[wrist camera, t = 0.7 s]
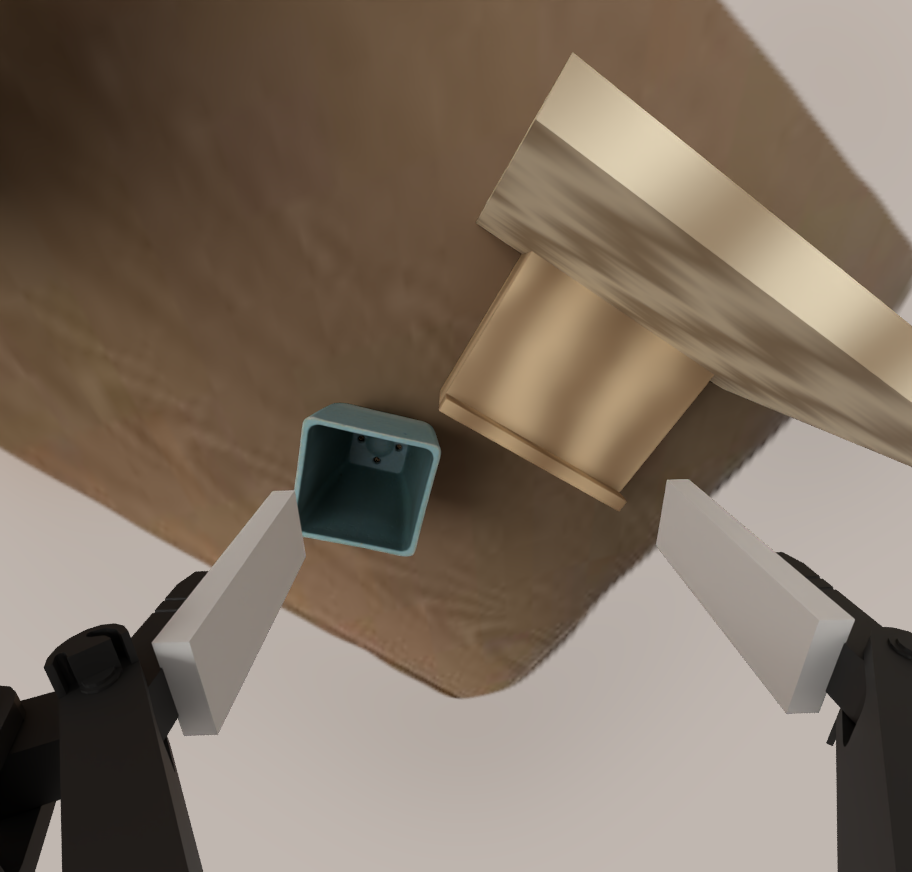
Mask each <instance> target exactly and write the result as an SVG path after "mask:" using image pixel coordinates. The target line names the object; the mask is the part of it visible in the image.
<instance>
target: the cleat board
mask: <svg viewBox="0 0 912 872" xmlns="http://www.w3.org/2000/svg"><path fill="white" fill-rule="evenodd" d="M476 223H477V224H478V225H480V226H481V227H483V228H484V229H486V230H487V231H488V232H490V233H491V234H493V235H494V236H496V237H497V238H499V239H500V240H502V241H503V242H505V243H506V244H508V245H509V246H511V247H512V248H514V249H515V250H517V251H518V252H520V253H521V256H520V258H519V260H518V261H517V263H516V265H515V266H514V268H513V270H512V271H511V273H510V275H509V276H508V278H507V280H506V281H505V283H504V285H503V286H502V288H501V290H500V291H499V293H498V295H497V296H496V298H495V300H494V301H493V303H492V305H491V306H490V308H489V310H488V311H487V313H486V315H485V316H484V318H483V320H482V321H481V323H480V325H479V326H478V328H477V330H476V331H475V333H474V335H473V336H472V338H471V340H470V341H469V343H468V345H467V346H466V348H465V350H464V351H463V353H462V355H461V356H460V358H459V360H458V361H457V363H456V365H455V366H454V368H453V370H452V371H451V373H450V375H449V376H448V378H447V380H446V381H445V383H444V385H443V386H442V388H441V390H440V399H439V411H440V412H442V413H444V414H446V415H448V416H449V417H451V418H453V419H455V420H457V421H458V422H460V423H462V424H464V425H465V426H467V427H469V428H471V429H473V430H474V431H476V432H478V433H480V434H482V435H483V436H485V437H487V438H489V439H490V440H492V441H494V442H496V443H498V444H499V445H501V446H503V447H505V448H506V449H508V450H510V451H512V452H514V453H515V454H517V455H519V456H521V457H523V458H524V459H526V460H528V461H530V462H531V463H533V464H535V465H537V466H539V467H540V468H542V469H544V470H546V471H548V472H549V473H551V474H553V475H555V476H556V477H558V478H560V479H562V480H564V481H565V482H567V483H569V484H571V485H573V486H574V487H576V488H578V489H580V490H581V491H583V492H585V493H587V494H589V495H590V496H592V497H594V498H596V499H597V500H599V501H601V502H603V503H605V504H606V505H608V506H610V507H612V508H614V509H615V510H617V511H620V509H621V508H622V507H623V506H624V505H625V503H626V502H627V501H626V500H625V498H624V497H623V496H622V495H621V493H620V491H621V490H622V489H623V487H624V486H625V485H626V484H627V482H628V481H629V480H630V479H631V478H632V476H633V475H634V474H635V473H636V471H637V470H638V469H639V468H640V466H641V465H642V464H643V463H644V461H645V460H646V459H647V458H648V457H649V455H650V454H651V453H652V452H653V450H654V449H655V448H656V447H657V445H658V444H659V443H660V442H661V440H662V439H663V438H664V437H665V436H666V434H667V433H668V432H669V431H670V429H671V428H672V427H673V426H674V424H675V423H676V422H677V421H678V419H679V418H680V417H681V416H682V414H683V413H684V412H685V411H686V410H687V408H688V407H689V406H690V405H691V403H692V402H693V401H694V400H695V398H696V397H697V396H698V395H699V393H700V392H701V391H702V390H703V389H704V387H705V386H706V385H707V384H708V382H709V381H711V382H713V383H714V384H716V385H717V386H719V387H720V388H722V389H724V390H726V391H729V392H731V393H734V394H736V395H739V396H741V397H743V398H746V399H748V400H751V401H753V402H756V403H758V404H760V405H763V406H765V407H768V408H770V409H773V410H775V411H777V412H780V413H782V414H785V415H787V416H790V417H792V418H795V419H797V420H800V421H802V422H804V423H807V424H809V425H811V426H814V427H816V428H819V429H821V430H824V431H826V432H828V433H831V434H833V435H836V436H838V437H841V438H843V439H845V440H848V441H850V442H853V443H855V444H857V445H860V446H862V447H865V448H867V449H870V450H872V451H875V452H877V453H879V454H882V455H884V456H887V457H889V458H891V459H894V460H897V461H899V462H901V463H904V464H906V465H909V466H911V467H912V326H911V325H910V324H909V323H907V322H906V321H905V320H904V319H902V318H901V317H900V316H899V315H897V314H896V313H895V312H894V311H892V310H891V309H890V308H889V307H888V306H886V305H885V304H884V303H883V302H881V301H880V300H879V299H878V298H876V297H875V296H874V295H873V294H871V293H870V292H869V291H868V290H866V289H865V288H864V287H863V286H862V285H860V284H859V283H858V282H857V281H855V280H854V279H853V278H852V277H850V276H849V275H848V274H847V273H845V272H844V271H843V270H842V269H840V268H839V267H838V266H837V265H836V264H834V263H833V262H832V261H831V260H829V259H828V258H827V257H826V256H824V255H823V254H822V253H821V252H819V251H818V250H817V249H816V248H814V247H813V246H812V245H811V244H810V243H808V242H807V241H806V240H805V239H803V238H802V237H801V236H800V235H798V234H797V233H796V232H795V231H793V230H792V229H791V228H790V227H788V226H787V225H786V224H785V223H784V222H782V221H781V220H780V219H779V218H777V217H776V216H775V215H774V214H772V213H771V212H770V211H769V210H767V209H766V208H765V207H764V206H762V205H761V204H760V203H759V202H757V201H756V200H755V199H754V198H753V197H751V196H750V195H749V194H748V193H746V192H745V191H744V190H743V189H741V188H740V187H739V186H738V185H736V184H735V183H734V182H733V181H731V180H730V179H729V178H728V177H727V176H725V175H724V174H723V173H722V172H720V171H719V170H718V169H717V168H715V167H714V166H713V165H712V164H710V163H709V162H708V161H707V160H705V159H704V158H703V157H702V156H701V155H699V154H698V153H697V152H696V151H694V150H693V149H692V148H691V147H689V146H688V145H687V144H686V143H684V142H683V141H682V140H681V139H679V138H678V137H677V136H676V135H675V134H673V133H672V132H671V131H670V130H668V129H667V128H666V127H665V126H663V125H662V124H661V123H660V122H658V121H657V120H656V119H655V118H653V117H652V116H651V115H650V114H649V113H647V112H646V111H645V110H644V109H642V108H641V107H640V106H639V105H637V104H636V103H635V102H634V101H632V100H631V99H630V98H629V97H627V96H626V95H625V94H624V93H623V92H621V91H620V90H619V89H618V88H616V87H615V86H614V85H613V84H611V83H610V82H609V81H608V80H606V79H605V78H604V77H603V76H601V75H600V74H599V73H598V72H597V71H595V70H594V69H593V68H592V67H590V66H589V65H588V64H587V63H585V62H584V61H583V60H582V59H580V58H579V57H578V56H577V55H575V54H574V53H573V52H572V54H571V56H570V58H569V59H568V61H567V63H566V65H565V66H564V68H563V70H562V72H561V74H560V75H559V77H558V79H557V81H556V82H555V84H554V86H553V88H552V89H551V91H550V93H549V95H548V96H547V98H546V100H545V102H544V103H543V105H542V107H541V109H540V110H539V112H538V114H537V116H536V117H535V119H534V121H533V123H532V124H531V126H530V128H529V130H528V131H527V133H526V135H525V137H524V138H523V140H522V142H521V144H520V145H519V147H518V149H517V151H516V152H515V154H514V156H513V158H512V159H511V161H510V163H509V165H508V166H507V168H506V170H505V172H504V173H503V175H502V177H501V179H500V180H499V182H498V184H497V186H496V187H495V189H494V191H493V193H492V194H491V196H490V198H489V200H488V201H487V203H486V205H485V207H484V209H483V210H482V212H481V214H480V216H479V218H478V220H477V221H476Z"/></svg>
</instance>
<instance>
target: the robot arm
mask: <svg viewBox="0 0 912 872" xmlns="http://www.w3.org/2000/svg"><path fill="white" fill-rule="evenodd" d="M656 546H657V548H658V549H659V550H660V552H661V553H662V554H663V555H664V557H665V558H666V559H667V560H668V562H669V563H670V564H671V566H672V567H673V568H674V569H675V571H676V572H677V573H678V575H679V576H680V577H681V579H682V580H683V581H684V582H685V584H686V585H687V586H688V588H689V589H690V590H691V591H692V593H693V594H694V595H695V597H696V598H697V599H698V600H699V602H700V603H701V604H702V606H703V607H704V608H705V609H706V611H707V612H708V613H709V615H710V616H711V617H712V618H713V620H714V621H715V622H716V624H717V625H718V626H719V628H720V629H721V630H722V631H723V632H724V634H725V635H726V636H727V638H728V639H729V640H730V642H731V643H732V644H733V645H734V647H735V648H736V649H737V650H738V652H739V653H740V655H741V656H742V657H743V658H744V660H745V661H746V662H747V663H748V665H749V666H750V667H751V669H752V670H753V671H754V672H755V674H756V675H757V676H758V678H759V679H760V680H761V682H762V683H763V684H764V685H765V687H766V688H767V689H768V691H769V692H770V693H771V694H772V696H773V697H774V698H775V700H776V701H777V702H778V704H779V705H780V706H781V707H782V709H783V710H784V711H785V713H786V714H792V713H819V711H820V708H821V706H822V703H823V701H824V698H825V696H826V693H828V695H829V696H830V697H831V698H832V699H833V700H834V701H835V702H836V703H837V705H839V707H840V710H839V713H838V715H837V718H836V720H835V723H834V725H833V728H832V730H831V732H830V735H829V737H828V740H827V742H826V743H827V744H829V745H831V746H833V744H834V742H835V740H836V766H837V767H836V772H837V845H838V846H837V848H838V849H837V851H838V872H912V633H911V632H908V631H904V630H900V629H897V628H891V627H882V626H881V625H879V624H878V623H877V622H876V621H874V620H873V619H872V618H871V617H870V616H868V615H867V614H866V613H865V612H863V611H862V610H861V609H860V608H858V607H857V606H856V605H855V604H853V603H852V602H851V601H850V600H848V599H847V598H846V597H845V596H843V595H842V594H841V593H840V592H839V591H837V590H834V589H833V587H832V586H831V585H830V584H829V583H827V582H826V581H825V580H824V579H820V577H819V575H817V574H816V573H815V572H814V571H812V570H811V569H810V568H809V567H807V566H806V565H805V564H804V563H802V562H800V561H798V560H796V559H794V558H792V557H790V556H789V555H787V554H785V553H783V552H774V551H773V550H772V549H771V548H770V547H768V546H767V545H766V544H765V543H764V542H762V541H761V540H760V539H759V538H758V537H756V536H755V535H754V534H753V533H752V532H750V531H749V530H748V529H747V528H745V526H744V525H742V524H741V523H740V522H739V521H738V520H736V519H735V518H734V517H733V516H732V515H730V514H729V513H728V512H727V511H726V510H725V509H723V508H722V507H721V506H720V505H719V504H717V503H716V502H715V501H714V500H713V499H711V498H710V497H709V496H708V495H707V494H706V493H704V492H703V491H702V490H701V489H700V488H698V487H697V486H696V485H695V484H694V483H692V482H691V481H690V480H689V479H676V480H667V483H666V489H665V495H664V501H663V507H662V513H661V519H660V524H659V530H658V536H657V542H656ZM305 557H306V554H305V548H304V542H303V536H302V530H301V524H300V519H299V513H298V507H297V501H296V495H295V490H290V491H272V492H271V494H270V495H269V496H268V497H267V499H266V500H265V501H264V503H263V504H262V505H261V506H260V508H259V509H258V510H257V511H256V513H255V514H254V515H253V516H252V518H251V519H250V520H249V521H248V523H247V524H246V525H245V526H244V528H243V529H242V530H241V531H240V533H239V534H238V535H237V536H236V538H235V539H234V540H233V541H232V543H231V544H230V545H229V546H228V548H227V549H226V550H225V551H224V553H223V554H222V555H221V556H220V558H219V559H218V560H217V561H216V563H215V564H214V565H213V566H212V568H211V569H210V570H209V571H201V572H194V573H193V574H191V575H190V576H189V577H187V578H186V579H184V580H183V581H181V582H180V583H179V584H177V585H176V587H175V588H174V589H173V590H172V591H171V592H170V594H169V595H168V596H167V597H166V598H165V601H163V602H162V603H161V604H160V605H159V606H158V607H157V609H156V610H155V613H152V614H151V616H150V617H149V618H148V619H147V620H146V621H145V623H144V624H143V625H142V626H141V627H140V628H139V629H138V631H137V632H136V633H135V634H134V635H133V636H132V637H130V635H129V632H128V630H127V629H126V628H125V627H124V626H123V625H119V624H105V625H100V626H96V627H93V628H90V629H87V630H85V631H83V632H81V633H79V634H77V635H75V636H73V637H71V638H69V639H68V640H67V641H65V642H64V643H62V644H61V645H60V646H58V647H57V648H56V649H55V650H54V651H53V652H52V653H51V655H50V656H49V657H48V658H47V660H46V663H45V666H44V669H45V671H46V673H47V676H48V677H49V680H50V682H51V684H52V686H53V688H54V690H55V692H52V693H48V694H44V695H41V696H37V697H34V698H30V699H26V700H22V701H20V699H19V697H18V696H17V694H16V692H15V691H14V690H13V689H12V688H11V687H9V686H0V872H35V869H36V866H37V863H38V860H39V856H40V853H41V850H42V846H43V843H44V839H45V836H46V833H47V829H48V826H49V823H50V820H51V816H52V813H53V810H54V806H55V803H56V801H57V800H60V799H61V832H62V833H61V834H62V835H61V836H62V872H203V869H202V865H201V862H200V858H199V854H198V850H197V846H196V842H195V839H194V835H193V831H192V827H191V823H190V819H189V816H188V811H187V808H186V804H185V800H184V796H183V792H182V789H181V785H180V781H179V777H178V773H177V769H176V766H175V762H174V758H173V754H172V750H171V746H170V743H169V740H168V738H167V735H168V733H169V731H170V730H171V728H172V726H173V725H174V723H175V721H176V720H177V718H178V720H179V723H180V726H181V729H182V732H183V735H184V736H191V735H218V733H219V731H220V729H221V727H222V725H223V723H224V721H225V719H226V717H227V715H228V713H229V711H230V709H231V707H232V705H233V703H234V701H235V699H236V697H237V695H238V693H239V691H240V689H241V687H242V684H243V683H244V681H245V678H246V677H247V674H248V672H249V670H250V668H251V666H252V664H253V662H254V660H255V658H256V656H257V654H258V652H259V650H260V648H261V646H262V644H263V642H264V640H265V638H266V636H267V634H268V632H269V630H270V628H271V626H272V624H273V622H274V620H275V618H276V616H277V614H278V612H279V610H280V608H281V606H282V604H283V602H284V600H285V598H286V596H287V594H288V592H289V590H290V588H291V586H292V584H293V582H294V579H295V577H296V575H297V573H298V571H299V569H300V567H301V565H302V563H303V561H304V559H305Z"/></svg>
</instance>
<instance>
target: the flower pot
mask: <svg viewBox="0 0 912 872" xmlns="http://www.w3.org/2000/svg"><path fill="white" fill-rule="evenodd" d="M359 436H363V437H364V438H365V440H364V441H359V439H358V438H359ZM398 444H400V445H401V446H402V448H401V449H400V450H398V449H396V445H398ZM440 456H441V449H440V446H439V443H438V440H437V436H436V433H435V431H434V429H433V427H432V426H431V425H430V424H428V423H426V422H423V421H420V420H416V419H411V418H407V417H402V416H398V415H394V414H389V413H385V412H381V411H377V410H372V409H368V408H364V407H360V406H356V405H352V404H347V403H334V404H331V405H329V406H327V407H325V408H323V409H321V410H319V411H318V412H316V413H314V414H312V415H311V416H309V417H307V418H306V419H305V420H304V421H303V426H302V433H301V441H300V449H299V459H298V467H297V474H296V480H295V488H294V490H295V495H296V501H297V507H298V513H299V519H300V524H301V530H302V536H303V537H307V538H312V539H318V540H323V541H329V542H334V543H340V544H345V545H350V546H356V547H361V548H366V549H372V550H376V551H381V552H385V553H390V554H394V555H399V556H412V555H413V554H414V553H415V550H416V547H417V542H418V538H419V534H420V530H421V527H422V522H423V519H424V515H425V511H426V507H427V504H428V500H429V496H430V492H431V489H432V485H433V482H434V478H435V474H436V471H437V467H438V464H439V461H440ZM375 457H378V458H379V459H380V461H379V462H375V461H374V458H375Z"/></svg>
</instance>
